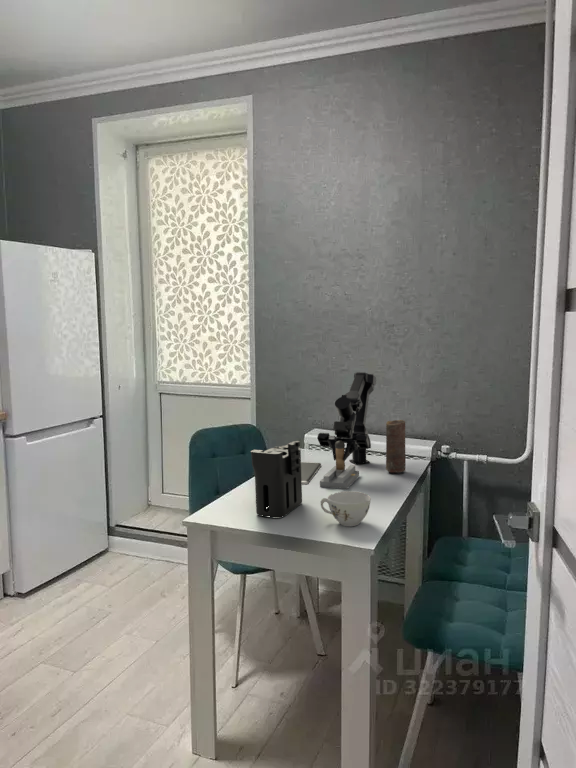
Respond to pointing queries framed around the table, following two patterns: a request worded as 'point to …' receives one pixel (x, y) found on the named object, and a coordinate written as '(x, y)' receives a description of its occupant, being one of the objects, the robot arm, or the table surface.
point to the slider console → (340, 478)
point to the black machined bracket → (277, 479)
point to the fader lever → (339, 457)
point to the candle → (395, 446)
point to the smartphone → (308, 471)
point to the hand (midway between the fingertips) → (339, 460)
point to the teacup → (348, 507)
